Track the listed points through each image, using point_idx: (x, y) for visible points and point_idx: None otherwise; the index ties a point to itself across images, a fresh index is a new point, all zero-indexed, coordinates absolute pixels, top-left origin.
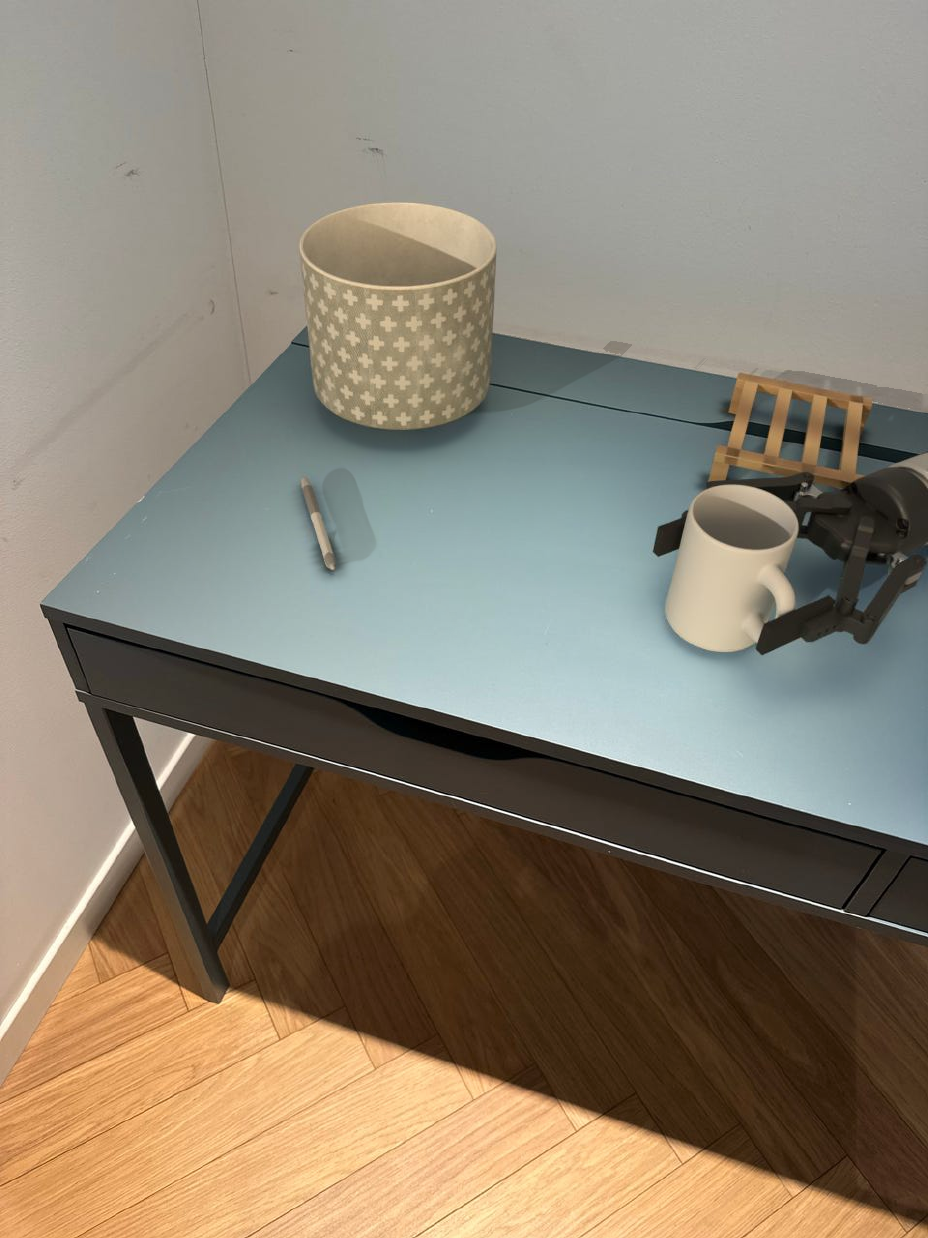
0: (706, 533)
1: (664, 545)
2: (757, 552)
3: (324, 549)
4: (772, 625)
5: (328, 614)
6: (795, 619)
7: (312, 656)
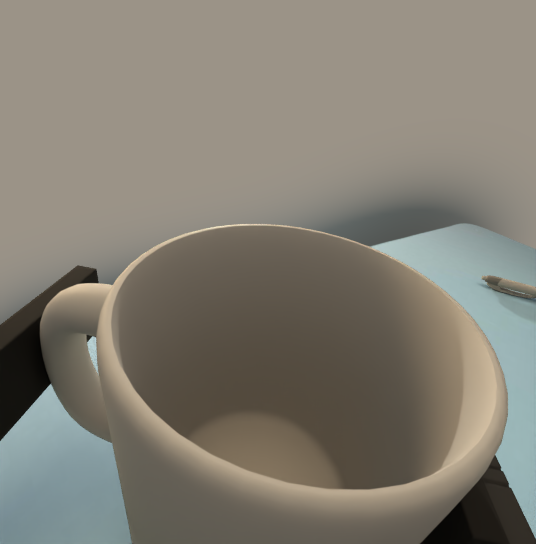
0: (299, 228)
1: None
2: (175, 237)
3: (506, 279)
4: (78, 271)
5: (432, 267)
6: (30, 302)
7: (393, 249)
